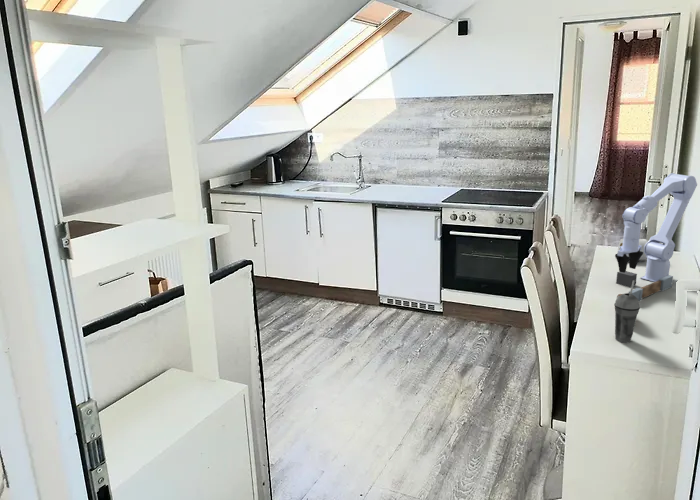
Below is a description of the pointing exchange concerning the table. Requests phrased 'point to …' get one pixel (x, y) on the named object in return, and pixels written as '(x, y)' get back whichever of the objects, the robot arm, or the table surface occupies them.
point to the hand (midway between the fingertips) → (627, 270)
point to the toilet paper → (642, 243)
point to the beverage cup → (625, 316)
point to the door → (651, 288)
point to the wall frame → (665, 284)
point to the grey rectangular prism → (626, 278)
